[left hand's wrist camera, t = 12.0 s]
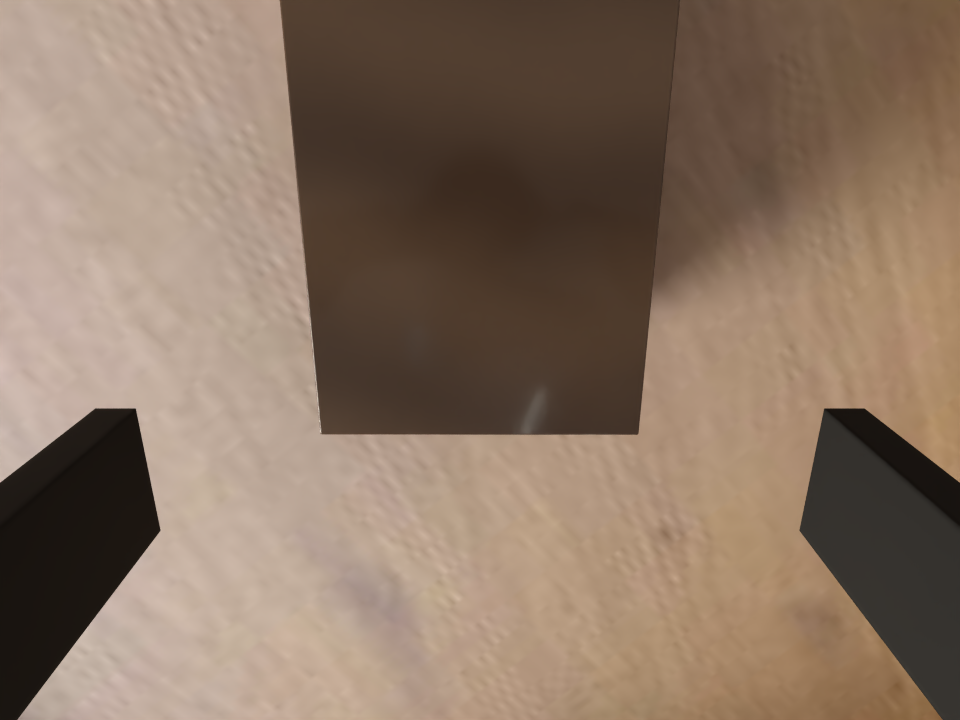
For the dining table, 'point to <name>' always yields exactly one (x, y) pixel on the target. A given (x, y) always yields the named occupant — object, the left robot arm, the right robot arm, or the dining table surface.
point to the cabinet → (479, 208)
